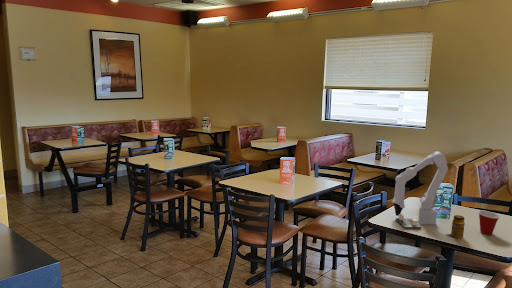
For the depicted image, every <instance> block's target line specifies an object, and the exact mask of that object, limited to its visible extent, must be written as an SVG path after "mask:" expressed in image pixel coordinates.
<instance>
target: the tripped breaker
mask: <svg viewBox="0 0 512 288" xmlns="http://www.w3.org/2000/svg"><path fill="white" fill-rule="evenodd" d="M404 217H405V215H404V214H402V213H401V214H399V216H397V218H398V219H399V220H403V219H404Z"/></svg>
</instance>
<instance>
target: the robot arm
mask: <svg viewBox="0 0 512 288" xmlns="http://www.w3.org/2000/svg"><path fill="white" fill-rule="evenodd" d="M434 164H435V165H436V166H437V167H436V168H437V170H436V172H435V174H434V176H433V178H432V181H431V183H430V184H429V186H428V189H427V190H426V192H425V193H424V194H423V195H422V196H421V197H420V199H419V202H420V206H419V209H418V218H415V219H416V220H417V223H418V224H419V225H437V215H438V214H437V209H435V208H433V206H434V201H435V197H436V194H437V193H438V190H439V188H440V186H441V184H442V182H443V180H444V178H445V176H446V174H447V173H448V169H449V168H448V163H447V158H446V157H445V155H443V153H442V152H441V151H437V150H436V151H433V152H432V154H429V155H427V156H426V157H425V158H423V159H422V160H421V161H420V162H418V163H417V164H416V165H415V166H414V167H412V166H410V167H407V168H406V169H405V171H403V172H400V174H398V175H397V176H395V179H394V180H395V187H394V196H393V198H392V199H393V200H392V201H391V202H392V205H393V208H394V211H395V212H394V213H395V216H397V217H399V214H402V211H403V209H405V191H406V186H405V185H406V184H407V182H409V181H410V180H411V179H413V178H414V177H415V176H417V173H418V172H419V171H420V170H422V169H424V168H425V167H426V166H428V165H434Z"/></svg>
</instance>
